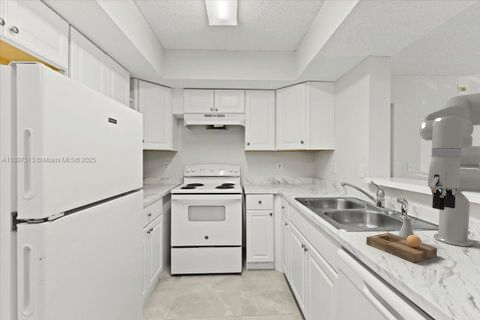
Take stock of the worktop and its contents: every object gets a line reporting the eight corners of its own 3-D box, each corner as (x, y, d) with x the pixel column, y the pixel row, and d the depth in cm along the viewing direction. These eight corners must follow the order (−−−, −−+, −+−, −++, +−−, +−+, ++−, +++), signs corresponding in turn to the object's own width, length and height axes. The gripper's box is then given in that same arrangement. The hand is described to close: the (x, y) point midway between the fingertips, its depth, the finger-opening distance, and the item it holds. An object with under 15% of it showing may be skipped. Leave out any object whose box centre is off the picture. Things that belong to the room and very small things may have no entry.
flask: (397, 236, 106) (398, 214, 106) (417, 240, 102) (418, 217, 101) (395, 241, 101) (396, 218, 100) (416, 245, 96) (417, 221, 96)
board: (388, 239, 102) (388, 232, 102) (436, 256, 86) (437, 248, 86) (366, 244, 97) (366, 236, 96) (413, 263, 80) (414, 254, 80)
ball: (410, 244, 90) (411, 232, 89) (423, 248, 86) (424, 236, 85) (403, 245, 88) (404, 234, 88) (416, 250, 84) (417, 238, 84)
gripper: (446, 154, 85) (444, 204, 85) (418, 153, 78) (416, 207, 78) (473, 154, 78) (471, 208, 79) (445, 154, 71) (443, 213, 71)
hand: (443, 207), depth 78 cm, fingers open, 5 cm apart
